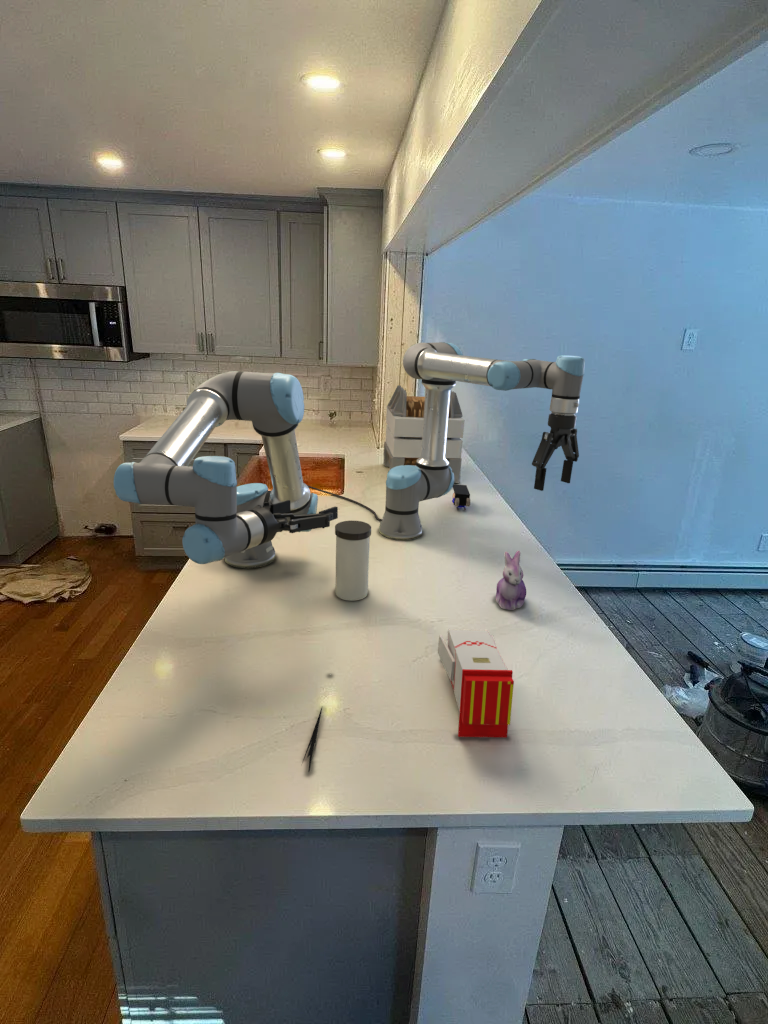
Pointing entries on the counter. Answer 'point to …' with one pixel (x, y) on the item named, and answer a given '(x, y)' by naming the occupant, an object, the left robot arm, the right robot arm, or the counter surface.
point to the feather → (313, 740)
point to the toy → (478, 682)
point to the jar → (352, 568)
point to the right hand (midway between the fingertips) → (552, 485)
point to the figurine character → (461, 496)
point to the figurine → (511, 584)
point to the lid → (353, 530)
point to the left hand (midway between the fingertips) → (312, 508)
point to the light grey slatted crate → (419, 431)
